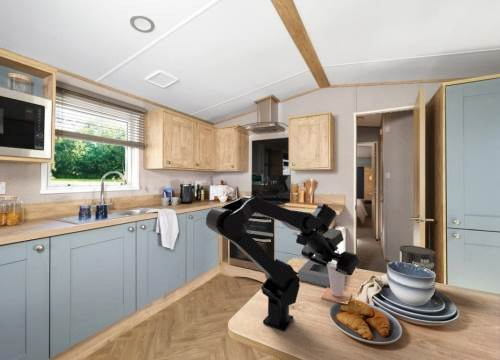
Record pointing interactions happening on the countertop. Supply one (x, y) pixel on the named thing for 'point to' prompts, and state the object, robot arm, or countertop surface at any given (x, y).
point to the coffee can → (418, 256)
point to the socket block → (314, 274)
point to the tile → (330, 297)
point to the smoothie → (335, 279)
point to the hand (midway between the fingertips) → (339, 270)
